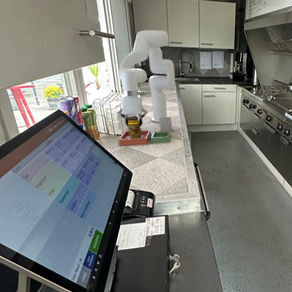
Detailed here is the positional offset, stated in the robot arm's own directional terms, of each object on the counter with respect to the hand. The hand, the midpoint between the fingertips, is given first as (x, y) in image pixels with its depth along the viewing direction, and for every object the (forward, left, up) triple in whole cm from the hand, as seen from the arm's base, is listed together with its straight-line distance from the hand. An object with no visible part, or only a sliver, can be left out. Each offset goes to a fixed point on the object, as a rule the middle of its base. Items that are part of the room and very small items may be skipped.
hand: (134, 125), depth 134 cm
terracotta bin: (0, 0, -9) cm, 9 cm away
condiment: (0, 0, -7) cm, 7 cm away
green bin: (+1, +14, -9) cm, 17 cm away
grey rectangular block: (-14, +16, -9) cm, 23 cm away
